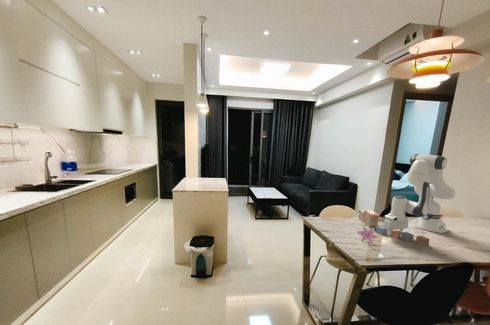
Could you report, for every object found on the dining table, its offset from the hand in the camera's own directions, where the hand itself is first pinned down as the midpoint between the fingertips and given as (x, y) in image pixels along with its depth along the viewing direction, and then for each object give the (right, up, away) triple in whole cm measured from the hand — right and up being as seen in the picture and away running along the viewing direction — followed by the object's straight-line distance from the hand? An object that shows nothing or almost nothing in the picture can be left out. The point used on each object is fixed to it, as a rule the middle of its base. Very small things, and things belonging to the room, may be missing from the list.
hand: (395, 234), depth 152 cm
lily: (-27, -2, -9) cm, 29 cm away
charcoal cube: (+5, -3, -4) cm, 8 cm away
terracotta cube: (0, -2, 0) cm, 2 cm away
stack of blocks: (-6, 0, +25) cm, 26 cm away
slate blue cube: (-7, -1, +6) cm, 9 cm away
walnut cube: (+12, -4, -10) cm, 16 cm away
